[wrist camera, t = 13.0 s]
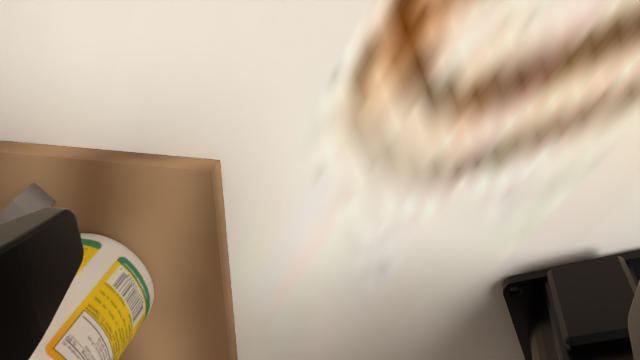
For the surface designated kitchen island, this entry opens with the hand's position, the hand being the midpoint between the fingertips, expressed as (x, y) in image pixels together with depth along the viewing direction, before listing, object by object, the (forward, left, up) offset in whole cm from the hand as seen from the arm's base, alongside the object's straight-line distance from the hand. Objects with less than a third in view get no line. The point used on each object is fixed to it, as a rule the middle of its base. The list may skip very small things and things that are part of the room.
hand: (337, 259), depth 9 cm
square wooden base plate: (-5, +16, -13) cm, 21 cm away
